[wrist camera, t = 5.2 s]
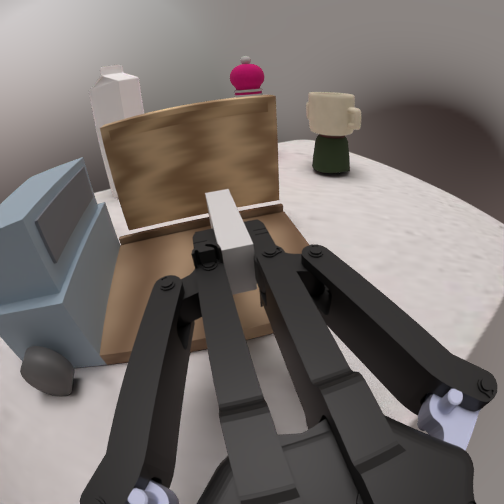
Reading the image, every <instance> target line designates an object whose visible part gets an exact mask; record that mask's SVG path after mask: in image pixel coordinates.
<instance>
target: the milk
mask: <svg viewBox="0 0 504 504" xmlns="http://www.w3.org/2000/svg"><path fill="white" fill-rule="evenodd" d="M100 71H101V77H100V78H99V79H98V80H97V82H96V83H95V84H94V85H93V87H92V88H91V89H90V91H89V95H90V101H91V106H92V112H93V117H94V122H95V127H96V131H97V135H98V140H99V144H100V148H101V153H102V156H103V161H104V165H105V168H106V172H107V176H108V180H109V183H110V187H111V190H112V193H113V197H114V198H118V195H117V192H116V189H115V185H114V182H113V178H112V175H111V171H110V168H109V164H108V160H107V156H106V152H105V148H104V144H103V140H102V136H101V131H100V128H101V127H102V126H103V125H105V124H109V123H112V122H115V121H119V120H122V119H126V118H130V117H133V116H137V115H141V114H144V108H143V102H142V97H141V90H140V82H139V78H138V77H136V76H133V75H129V74H126V73H123V68H122V65H114V66H104V67H101V68H100Z"/></svg>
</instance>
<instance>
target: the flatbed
mask: <svg viewBox="0 0 504 504" xmlns="http://www.w3.org/2000/svg"><path fill="white" fill-rule="evenodd" d="M239 213H240V216H241V218H242V220H243V222H245V221H250V220H256V219H258V220H259V221H261V222H263V223H264V225H265V227H266V229H267V230H268V232H269V234H270V235H271V237H272V239H273V241H274V242H275V244H276V245H277V246H279V247H281V248H282V249H283V250H284V251H285V252H286V253H291V254H302V250H303V248H304V247H306V246H309V244H308V242H307V241H306V240H305V238H304V237H303V236H302V234H301V233H300V232H299V230H298V229H297V228H296V227H295V225H294V224H293V223H292V221H291V220H290V219H289V217H288V216H287V215H286V214H285V212H283V205H282V204H276V205H270V206H265V207H259V208H253V209H248V210H243V211H239ZM207 229H211V224H210V219H209V217H207V218H202V219H197V220H192V221H187V222H183V223H178V224H173V225H169V226H164V227H160V228H155V229H151V230H146V231H142V232H138V233H133V234H129V235H125V236H121V237H120V238H119V240H120V243H121V246H120V249H119V253H118V257H117V261H116V265H115V269H114V274H113V278H112V283H111V288H110V293H109V298H108V303H107V308H106V314H105V320H104V326H103V333H102V340H101V347H100V357H101V358H102V359H103V360H104V362H105V363H106V364H107V365H109V364H117V363H125V362H129V358H130V355H131V352H132V348H133V345H134V342H135V339H136V336H137V332H138V329H139V326H140V323H141V320H142V317H143V314H144V311H145V308H146V306H147V303H148V300H149V297H150V294H151V291H152V289H153V286H154V284H155V283H156V281H157V280H159V279H160V278H162V277H164V276H168V275H175V276H178V277H180V279H182V278H184V277H186V276H188V275H190V274H191V273H192V272H193V271H194V269H195V266H194V263H193V259H192V255H191V253H192V250H193V249H194V247H193V239H192V237H193V235H194V234H195V232H197V231H202V230H207ZM233 298H234V302H235V305H236V309H237V312H238V316H239V319H240V322H241V326H242V329H243V333H244V336H245V339H246V340H248V339H252V338H256V337H260V336H264V335H268V334H272V333H274V332H273V330H272V327H271V324H270V322H269V319H268V317H267V314H266V311H265V309H264V306H263V307H261V305H260V293H259V287H258V284H257V289H256V290H252V291H247V292H243V293H238V294H233ZM203 349H207V343H206V337H205V332H204V326H203V319H202V317H201V318H199V319H197V320H195V325H194V331H193V337H192V343H191V349H190V352H193V351H198V350H203Z"/></svg>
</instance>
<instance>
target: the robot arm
mask: <svg viewBox="0 0 504 504" xmlns="http://www.w3.org/2000/svg"><path fill="white" fill-rule="evenodd" d="M205 195H206V201H207V207H208V213H209V219H210V224H211V229H207V230H202V231H197V232H195V234H194V235H193V237H192V239H193V247H194V249H193V250H192V253H191V255H192V259H193V263H194V266H195V269H194V271H193V272H192V273H191V274H190V275H188V276H186V277H184V278H182V279H180V277H178V276H175V275H168V276H164V277H162V278H160V279H159V280H157V281H156V283H155V284H154V286H153V289H152V291H151V294H150V297H149V300H148V303H147V306H146V308H145V311H144V314H143V317H142V320H141V323H140V326H139V329H138V332H137V336H136V339H135V342H134V345H133V348H132V352H131V355H130V358H129V362H128V365H127V369H126V372H125V376H124V379H123V383H122V387H121V390H120V394H119V398H118V402H117V406H116V410H115V414H114V419H113V423H112V427H111V432H110V436H109V441H108V446H107V451H106V455H105V456H104V458H103V459H102V461H101V463H100V464H99V466H98V468H97V469H96V471H95V473H94V474H93V476H92V478H91V479H90V481H89V483H88V484H87V486H86V488H85V489H84V491H83V493H82V495H81V498H80V504H179V500H178V498H177V496H176V494H175V493H174V492H173V491H171V490H170V489H169V487H170V485H171V481H172V478H173V475H174V468H175V462H176V452H177V443H178V435H179V426H180V418H181V411H182V403H183V396H184V389H185V382H186V375H187V368H188V362H189V356H190V349H191V343H192V337H193V331H194V325H195V320H197V319H199V318H201V317H202V319H203V326H204V332H205V337H206V343H207V349H208V354H209V360H210V365H211V370H212V375H213V380H214V385H215V390H216V395H217V400H218V405H219V418H220V423H221V427H222V431H223V436H224V440H225V444H226V448H227V452H228V456H227V457H226V458H225V459H224V460H223V461H222V462H221V463H220V465H219V466H218V467H217V469H216V470H215V472H214V474H213V476H212V478H211V479H210V481H209V483H208V485H207V487H206V488H205V490H204V492H203V494H202V495H201V497H200V499H199V501H198V502H197V504H476V502H475V500H474V494H473V476H474V467H473V462H472V460H471V457H470V456H469V454H468V453H467V452H466V448H467V445H468V443H469V440H470V438H471V435H472V432H473V429H474V426H475V423H476V420H477V417H478V413H479V411H480V410H481V409H482V408H483V407H484V406H485V405H486V404H488V403H489V402H490V401H491V400H492V399H493V398H494V397H495V395H496V393H497V383H496V379H495V378H494V376H493V375H492V374H491V373H489V372H488V371H486V370H484V369H482V368H480V367H478V366H476V365H474V364H471V363H469V362H467V361H465V360H463V359H461V358H459V357H457V356H455V355H453V354H451V353H450V352H449V351H448V350H447V349H446V348H445V347H443V346H442V345H441V344H440V343H439V342H438V341H437V340H436V339H435V338H434V337H432V336H431V335H430V334H429V333H428V332H427V331H426V330H425V329H424V328H422V327H421V326H420V325H419V324H418V323H417V322H416V321H414V320H413V319H412V318H411V317H410V316H409V315H408V314H406V313H405V312H404V311H403V310H402V309H401V308H399V307H398V306H397V305H396V304H395V303H394V302H392V301H391V300H390V299H389V298H388V297H386V296H385V295H384V294H383V293H382V292H380V291H379V290H378V289H377V288H376V287H374V286H373V285H372V284H371V283H370V282H368V281H367V280H366V279H365V278H363V277H362V276H361V275H360V274H359V273H357V272H356V271H355V270H354V269H352V268H351V267H350V266H349V265H347V264H346V263H345V262H344V261H342V260H341V259H340V258H338V257H337V256H336V255H335V254H333V253H332V252H331V251H330V250H328V249H327V248H325V247H323V246H321V245H309V246H306V247H304V248H303V250H302V254H291V253H286V252H285V251H284V250H283V249H282V248H281V247H279V246H277V245H276V244H275V242H274V241H273V239H272V237H271V235H270V234H269V232H268V230H267V229H266V227H265V225H264V223H263V222H261V221H259V220H258V219H256V220H250V221H245V222H243V220H242V218H241V216H240V213H239V211H238V209H237V207H236V205H235V202H234V200H233V198H232V196H231V194H230V191H229V189H225V190H219V191H214V192H208V193H205ZM257 284H258V287H259V293H260V305H261V307H263V306H264V309H265V311H266V314H267V317H268V319H269V322H270V324H271V327H272V330H273V332H274V335H275V337H276V340H277V343H278V345H279V348H280V350H281V353H282V356H283V358H284V361H285V363H286V366H287V369H288V371H289V374H290V376H291V379H292V381H293V384H294V387H295V389H296V392H297V394H298V397H299V399H300V402H301V404H302V407H303V410H304V412H305V416H306V422H307V427H308V430H307V431H306V432H304V433H300V434H285V435H277V432H276V429H275V426H274V423H273V420H272V417H271V414H270V411H269V408H268V406H267V403H266V401H265V400H264V397H263V395H262V391H261V388H260V385H259V382H258V379H257V375H256V372H255V369H254V366H253V363H252V359H251V356H250V353H249V349H248V346H247V343H246V339H245V336H244V333H243V329H242V326H241V322H240V319H239V316H238V312H237V309H236V305H235V302H234V298H233V294H238V293H243V292H247V291H252V290H256V289H257ZM327 326H328V327H329V328H330V329H331V330H332V331H333V332H334V333H335V334H336V335H337V336H338V337H339V338H340V339H341V341H342V342H343V343H344V344H345V345H346V346H347V347H348V348H349V349H350V350H351V351H352V352H353V353H354V354H355V355H356V356H357V357H358V359H359V360H360V361H361V362H362V363H363V364H364V365H365V366H366V367H367V368H368V369H369V370H370V371H371V372H372V373H373V374H374V376H375V377H376V378H377V379H378V380H379V381H380V382H381V383H382V384H383V385H384V386H385V387H386V388H387V389H388V390H389V391H390V393H391V394H392V395H393V396H394V397H395V398H396V399H397V400H398V401H399V402H400V403H401V404H402V405H403V406H405V407H406V408H407V409H409V410H410V411H411V412H413V413H414V414H416V415H418V423H417V425H418V428H419V429H420V430H422V431H426V432H427V433H428V434H429V435H428V434H425V433H423V432H420V431H418V430H416V429H414V428H411V427H409V426H407V425H405V424H402V423H400V422H398V421H396V420H393V419H391V418H389V417H387V416H385V415H384V414H383V413H382V411H381V409H380V407H379V405H378V403H377V401H376V399H375V397H374V396H373V394H372V392H371V390H370V388H369V386H368V384H367V383H366V381H365V379H364V378H363V376H362V375H361V374H360V373H359V372H353V371H352V370H351V369H350V367H349V365H348V364H347V362H346V360H345V358H344V356H343V354H342V352H341V351H340V349H339V347H338V345H337V343H336V341H335V339H334V338H333V336H332V334H331V332H330V330H329V329H328V327H327Z"/></svg>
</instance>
